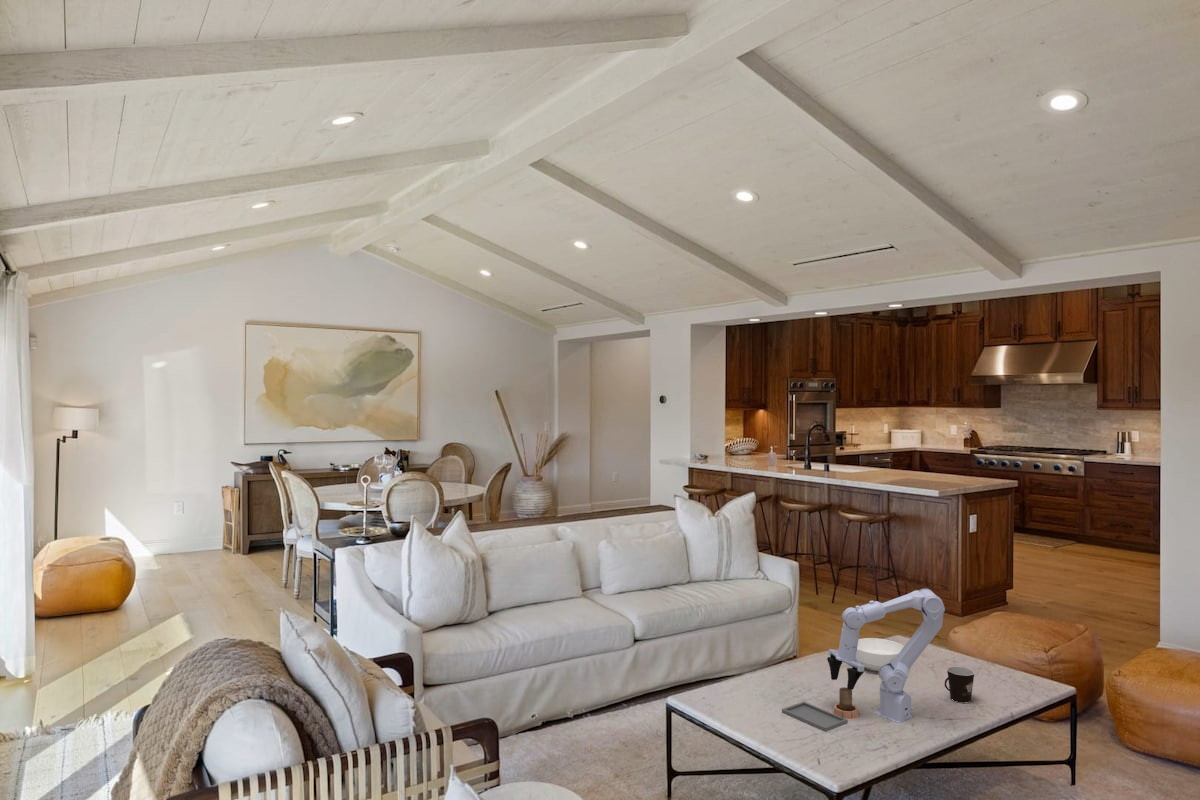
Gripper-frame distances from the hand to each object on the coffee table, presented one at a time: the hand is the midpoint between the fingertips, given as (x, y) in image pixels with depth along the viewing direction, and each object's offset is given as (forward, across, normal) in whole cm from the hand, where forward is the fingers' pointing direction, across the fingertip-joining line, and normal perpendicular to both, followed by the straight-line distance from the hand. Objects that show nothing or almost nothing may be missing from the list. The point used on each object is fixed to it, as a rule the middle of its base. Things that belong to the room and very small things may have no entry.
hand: (842, 684), depth 260 cm
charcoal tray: (+11, 0, -10) cm, 15 cm away
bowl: (+6, -25, +45) cm, 52 cm away
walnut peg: (+9, +2, +1) cm, 9 cm away
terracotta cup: (+9, +2, +1) cm, 10 cm away
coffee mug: (+3, +10, +44) cm, 46 cm away
